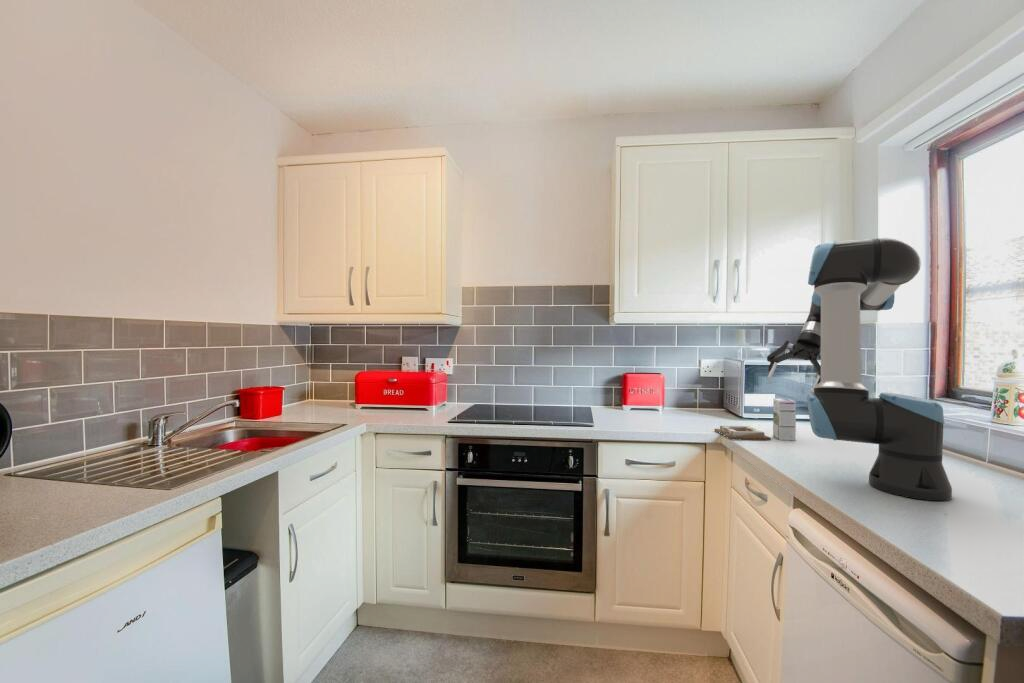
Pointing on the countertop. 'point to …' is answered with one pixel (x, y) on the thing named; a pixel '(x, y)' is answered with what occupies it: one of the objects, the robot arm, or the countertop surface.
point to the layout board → (742, 433)
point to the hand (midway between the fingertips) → (789, 385)
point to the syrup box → (784, 419)
